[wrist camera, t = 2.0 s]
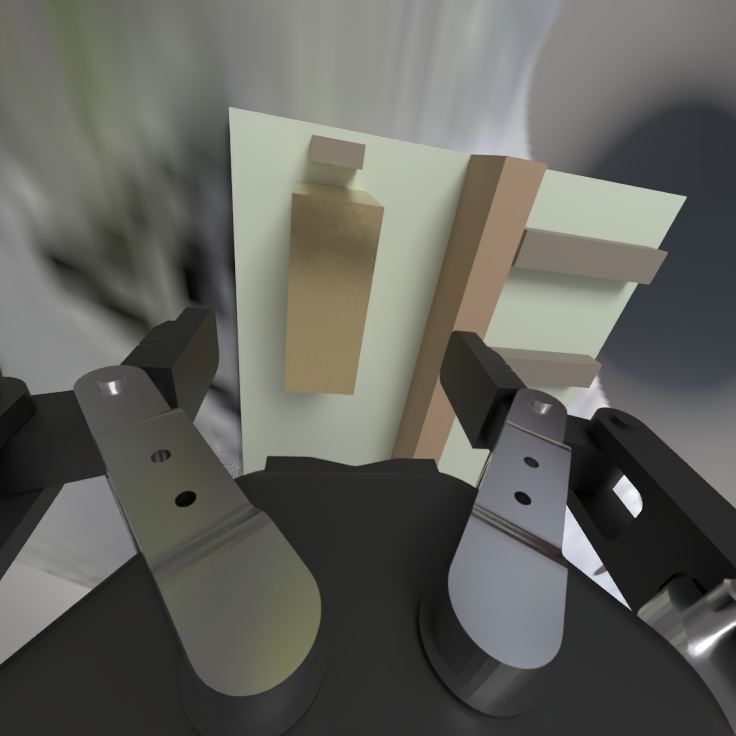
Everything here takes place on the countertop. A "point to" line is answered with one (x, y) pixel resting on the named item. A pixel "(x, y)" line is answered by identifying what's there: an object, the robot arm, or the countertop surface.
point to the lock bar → (329, 285)
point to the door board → (429, 284)
